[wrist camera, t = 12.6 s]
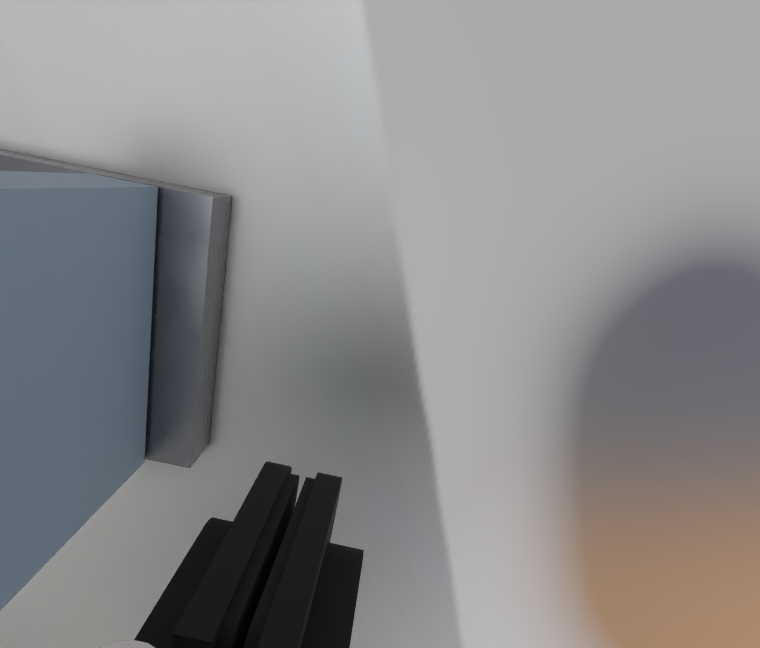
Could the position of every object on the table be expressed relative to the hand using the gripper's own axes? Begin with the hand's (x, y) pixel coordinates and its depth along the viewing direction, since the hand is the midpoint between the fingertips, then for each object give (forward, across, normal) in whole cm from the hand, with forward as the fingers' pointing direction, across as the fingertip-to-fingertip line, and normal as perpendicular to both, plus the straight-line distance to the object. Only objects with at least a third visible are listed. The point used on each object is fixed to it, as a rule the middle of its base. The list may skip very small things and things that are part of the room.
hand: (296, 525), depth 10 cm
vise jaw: (+9, +10, +1) cm, 13 cm away
